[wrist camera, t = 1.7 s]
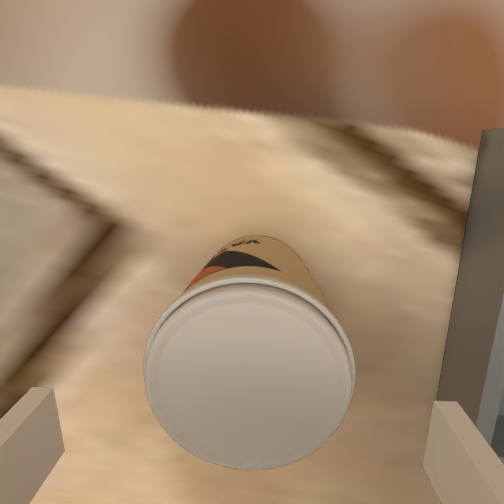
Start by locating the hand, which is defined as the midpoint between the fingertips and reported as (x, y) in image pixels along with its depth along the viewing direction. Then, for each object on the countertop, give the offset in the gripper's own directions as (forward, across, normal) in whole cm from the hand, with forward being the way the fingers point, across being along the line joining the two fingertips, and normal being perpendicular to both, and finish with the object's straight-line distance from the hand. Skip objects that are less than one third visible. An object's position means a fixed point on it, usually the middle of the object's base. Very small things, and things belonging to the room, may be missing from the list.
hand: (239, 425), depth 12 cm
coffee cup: (+15, 0, 0) cm, 15 cm away
